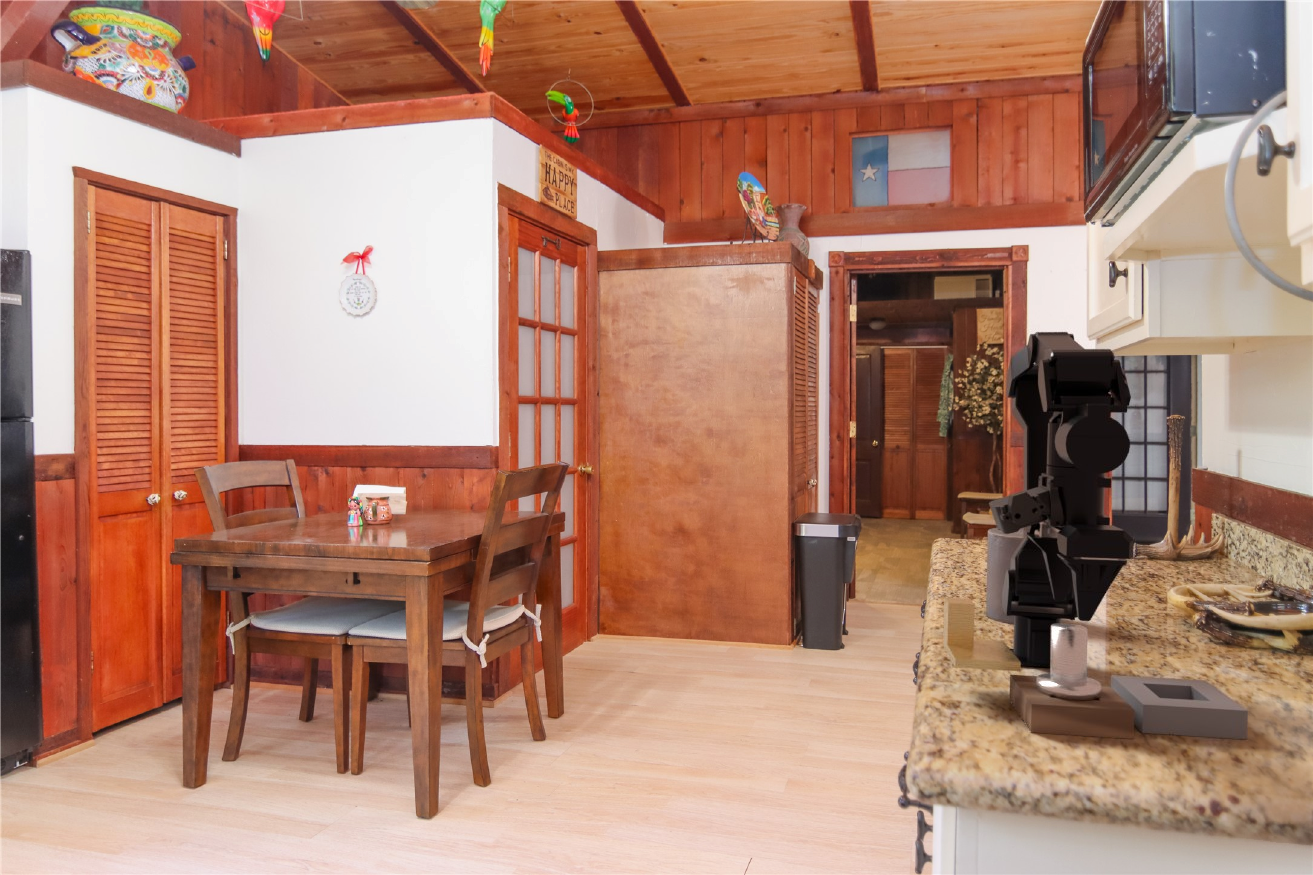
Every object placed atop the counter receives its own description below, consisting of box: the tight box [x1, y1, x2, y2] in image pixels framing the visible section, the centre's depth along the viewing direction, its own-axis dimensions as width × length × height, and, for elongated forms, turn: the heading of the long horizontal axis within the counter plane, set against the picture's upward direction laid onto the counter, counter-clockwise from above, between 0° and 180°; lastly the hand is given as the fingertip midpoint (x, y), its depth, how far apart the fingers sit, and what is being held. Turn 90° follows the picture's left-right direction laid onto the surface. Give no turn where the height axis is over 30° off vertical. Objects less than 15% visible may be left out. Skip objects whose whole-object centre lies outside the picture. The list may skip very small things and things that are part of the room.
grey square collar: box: [1110, 674, 1249, 740], centre depth 99 cm, size 10×10×3 cm
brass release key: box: [942, 597, 1022, 672], centre depth 106 cm, size 9×7×6 cm
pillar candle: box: [985, 527, 1023, 625], centre depth 143 cm, size 10×10×15 cm
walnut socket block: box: [1008, 674, 1135, 740], centre depth 99 cm, size 10×10×3 cm
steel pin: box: [1036, 622, 1101, 700], centre depth 98 cm, size 6×6×10 cm
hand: (1071, 610), depth 98 cm, fingers open, 9 cm apart
